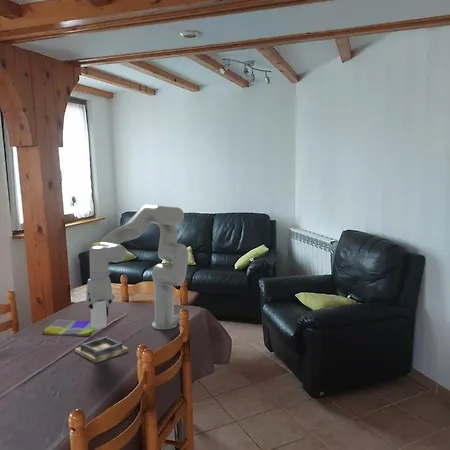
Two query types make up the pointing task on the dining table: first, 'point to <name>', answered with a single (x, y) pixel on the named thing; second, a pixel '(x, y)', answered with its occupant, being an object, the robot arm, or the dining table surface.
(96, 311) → the can
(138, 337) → the dining table surface
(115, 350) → the square tray
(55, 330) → the dish towel
